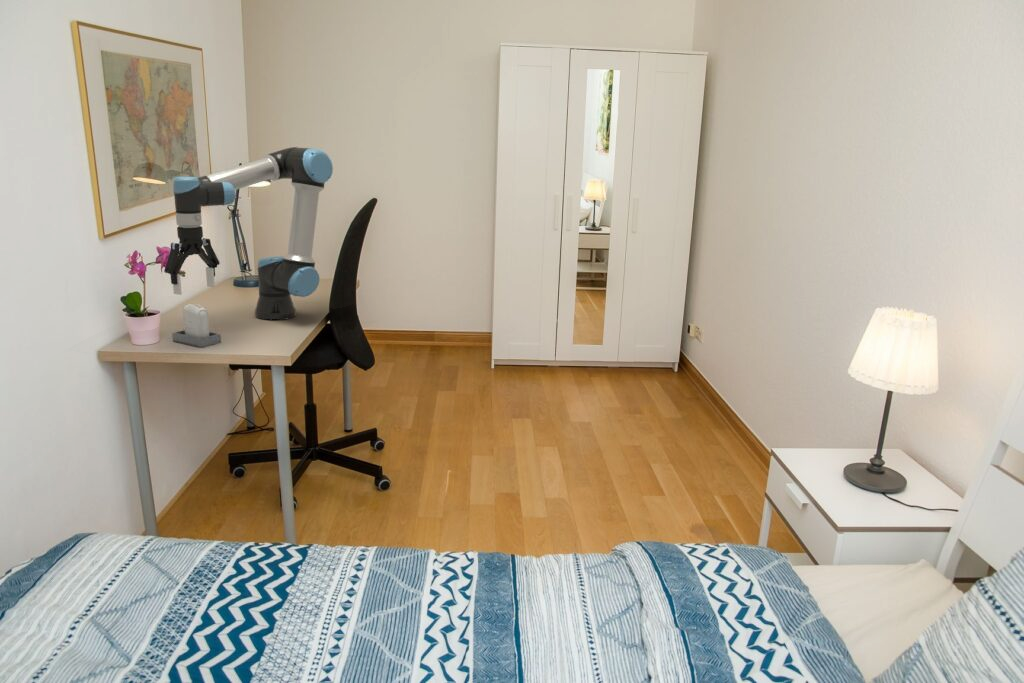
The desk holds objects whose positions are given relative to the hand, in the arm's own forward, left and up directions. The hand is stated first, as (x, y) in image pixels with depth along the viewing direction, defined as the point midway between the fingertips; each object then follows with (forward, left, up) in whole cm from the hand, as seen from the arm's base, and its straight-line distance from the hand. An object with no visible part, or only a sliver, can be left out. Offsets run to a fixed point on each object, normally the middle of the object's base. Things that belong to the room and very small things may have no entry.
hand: (194, 290), depth 242 cm
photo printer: (0, 0, -17) cm, 17 cm away
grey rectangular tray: (0, 0, -18) cm, 18 cm away
